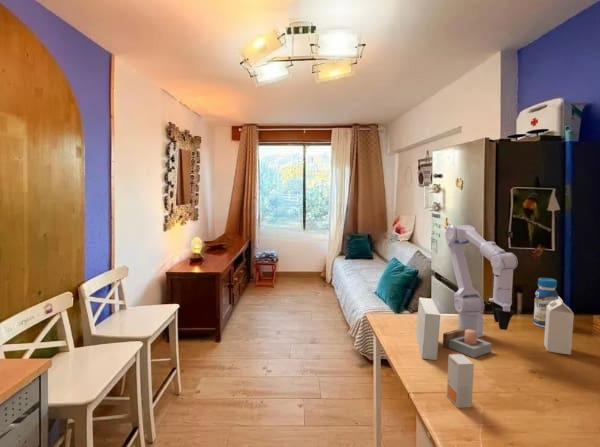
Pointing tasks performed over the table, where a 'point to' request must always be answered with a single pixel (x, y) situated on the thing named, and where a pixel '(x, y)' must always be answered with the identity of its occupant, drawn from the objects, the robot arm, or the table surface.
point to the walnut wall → (452, 336)
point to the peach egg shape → (470, 337)
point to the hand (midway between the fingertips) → (500, 325)
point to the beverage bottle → (544, 299)
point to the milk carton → (558, 327)
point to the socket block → (469, 350)
